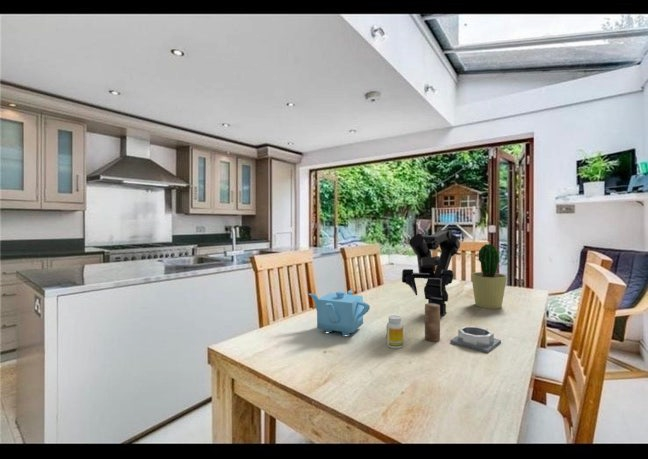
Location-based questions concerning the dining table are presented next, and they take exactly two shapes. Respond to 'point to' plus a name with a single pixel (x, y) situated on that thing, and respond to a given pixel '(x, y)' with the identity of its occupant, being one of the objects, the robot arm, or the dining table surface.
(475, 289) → the potted cactus
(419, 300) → the dining table surface
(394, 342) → the supplement bottle
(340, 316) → the teakettle
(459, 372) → the dining table surface
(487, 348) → the dock
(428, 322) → the peg
